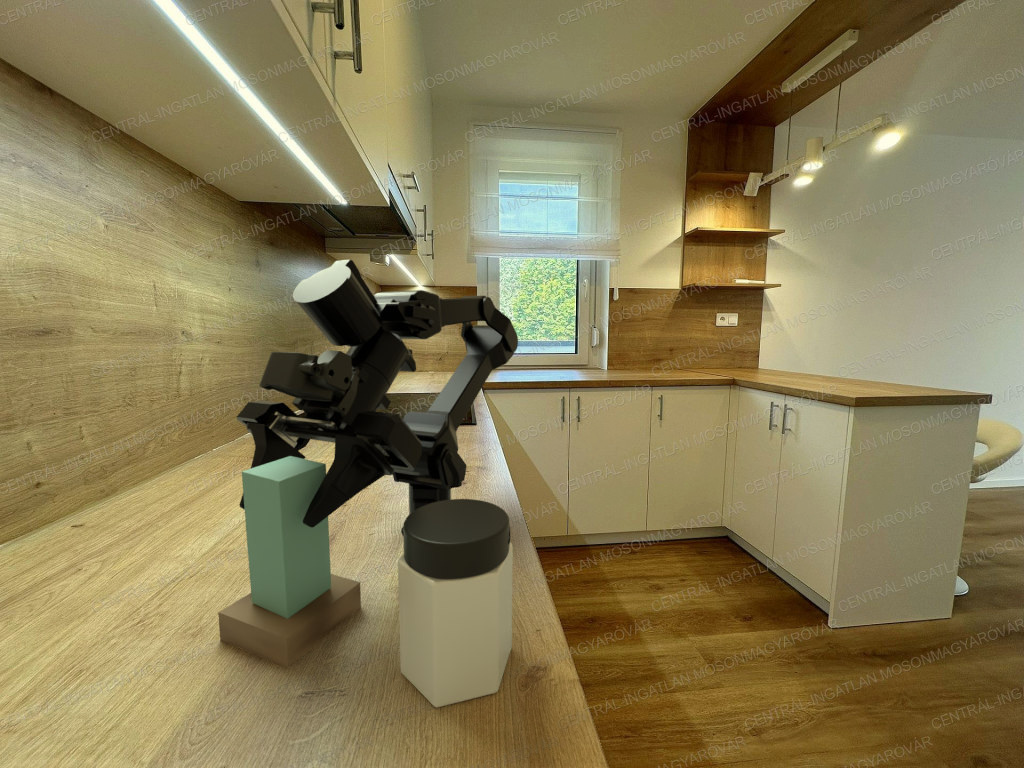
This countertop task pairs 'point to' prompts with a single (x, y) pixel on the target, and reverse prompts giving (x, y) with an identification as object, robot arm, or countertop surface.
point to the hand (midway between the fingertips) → (274, 517)
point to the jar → (455, 599)
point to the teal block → (285, 535)
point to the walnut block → (288, 623)
